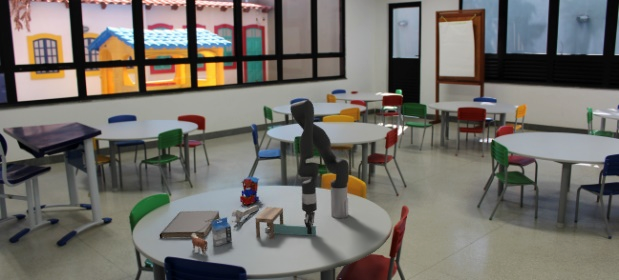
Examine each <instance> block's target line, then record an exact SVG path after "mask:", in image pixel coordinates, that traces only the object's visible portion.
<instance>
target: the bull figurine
mask: <svg viewBox="0 0 619 280" xmlns="http://www.w3.org/2000/svg"><path fill="white" fill-rule="evenodd" d="M191 236H192V238H191V243H192V248H193V249H192V252H195V251H196V250H195V248H196V247H197V251H202V253H201V256H204V253H207V252H208V241H207V240H205V239H203V238H199V237H197V236H198V234H197V235H196V234H195V233H193V234H192V235H189V237H191Z"/></svg>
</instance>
